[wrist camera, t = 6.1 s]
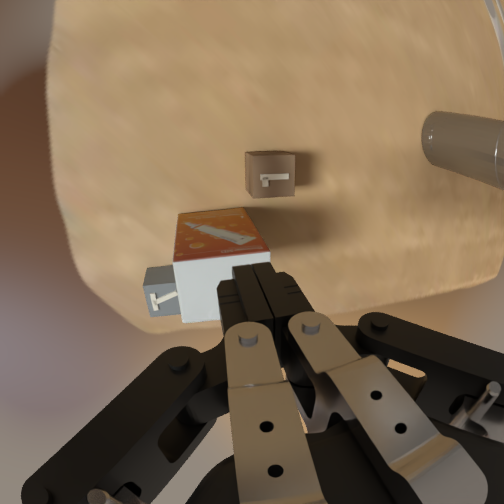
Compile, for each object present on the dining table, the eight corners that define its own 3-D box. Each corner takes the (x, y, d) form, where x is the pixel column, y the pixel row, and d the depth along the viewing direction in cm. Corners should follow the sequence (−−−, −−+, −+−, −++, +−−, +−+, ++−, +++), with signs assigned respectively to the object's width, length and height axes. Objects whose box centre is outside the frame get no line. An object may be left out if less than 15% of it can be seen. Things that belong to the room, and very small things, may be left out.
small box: (243, 205, 35) (273, 250, 23) (245, 253, 38) (272, 313, 26) (176, 212, 34) (171, 262, 22) (182, 260, 36) (183, 326, 25)
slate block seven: (181, 264, 36) (180, 282, 32) (185, 293, 38) (186, 314, 34) (146, 267, 36) (142, 286, 32) (153, 297, 38) (150, 318, 33)
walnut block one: (282, 150, 33) (295, 155, 29) (281, 187, 35) (295, 196, 31) (244, 151, 32) (253, 156, 28) (245, 189, 34) (254, 199, 30)
